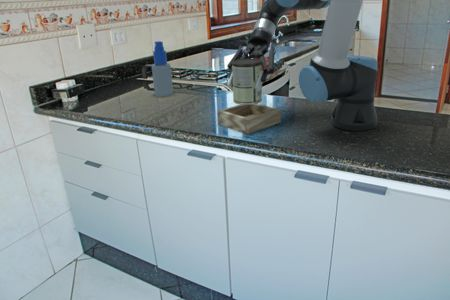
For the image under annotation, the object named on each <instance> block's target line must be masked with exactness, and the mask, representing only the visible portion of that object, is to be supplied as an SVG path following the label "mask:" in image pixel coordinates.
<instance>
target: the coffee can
mask: <svg viewBox="0 0 450 300" xmlns="http://www.w3.org/2000/svg"><path fill="white" fill-rule="evenodd" d="M261 63H262V60H260V59H253V58H251V59H238V60H234V61H232V76H233V87H232V96H233V97H232V98H233V101H232V102H233V103H234V104H236V105H253V104H260V103H262V101H263V100H262V99H263V97H262V96H263V94H262V90H263V89H262V88H263V87H262V86H263V85H262V86H261V89H260V92H258V91H257V90H256V88H255V86H256V83H257V80H258V77H259V74H260V71H261Z"/></svg>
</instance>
